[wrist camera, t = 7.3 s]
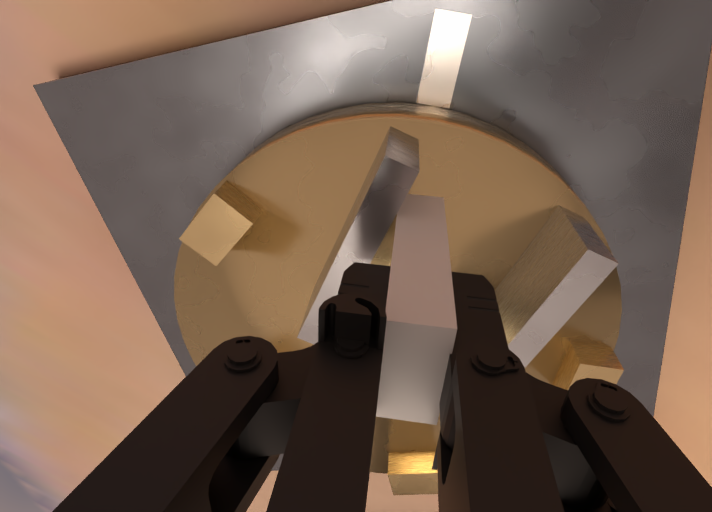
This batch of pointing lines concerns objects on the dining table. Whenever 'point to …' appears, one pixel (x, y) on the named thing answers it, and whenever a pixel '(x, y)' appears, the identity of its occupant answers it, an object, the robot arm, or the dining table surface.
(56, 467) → the dining table surface
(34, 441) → the dining table surface
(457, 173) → the ring nut
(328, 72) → the base plate
